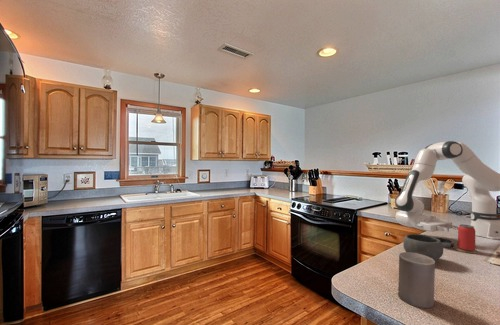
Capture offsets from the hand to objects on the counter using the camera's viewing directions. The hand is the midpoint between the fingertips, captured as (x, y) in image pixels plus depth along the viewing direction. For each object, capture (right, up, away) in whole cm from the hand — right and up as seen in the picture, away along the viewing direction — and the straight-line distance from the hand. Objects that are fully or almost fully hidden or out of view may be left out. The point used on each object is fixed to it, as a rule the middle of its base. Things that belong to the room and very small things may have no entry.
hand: (453, 229), depth 128 cm
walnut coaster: (+2, -10, -5) cm, 11 cm away
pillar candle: (-54, -9, -50) cm, 75 cm away
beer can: (+2, -9, -5) cm, 11 cm away
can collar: (-3, -9, +4) cm, 11 cm away
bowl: (-29, -9, -17) cm, 35 cm away
